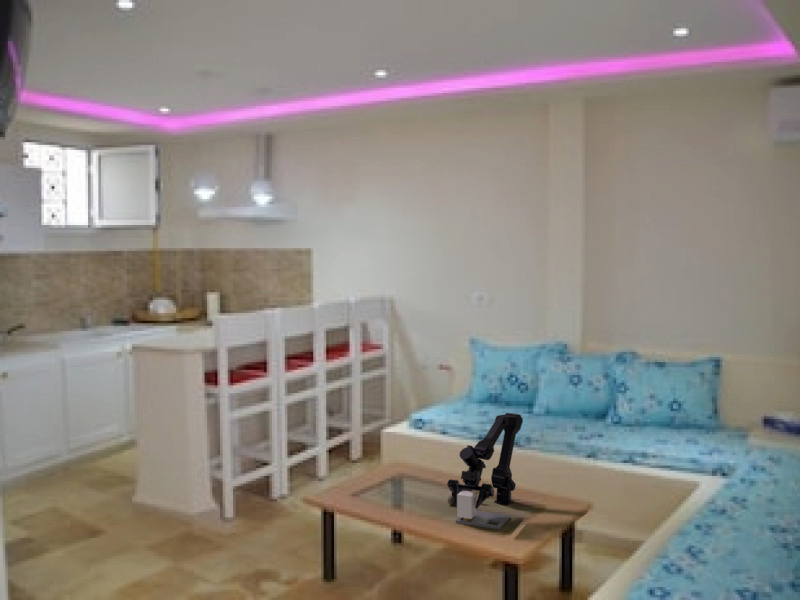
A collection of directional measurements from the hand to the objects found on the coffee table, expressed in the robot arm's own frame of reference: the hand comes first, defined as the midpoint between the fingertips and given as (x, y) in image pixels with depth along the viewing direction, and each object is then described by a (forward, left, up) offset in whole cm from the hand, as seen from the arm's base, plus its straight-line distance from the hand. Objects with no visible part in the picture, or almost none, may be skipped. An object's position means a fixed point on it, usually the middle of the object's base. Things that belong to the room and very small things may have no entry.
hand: (465, 507), depth 283 cm
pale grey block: (-1, 0, -6) cm, 6 cm away
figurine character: (-18, -17, -8) cm, 26 cm away
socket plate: (-6, +4, -8) cm, 11 cm away
